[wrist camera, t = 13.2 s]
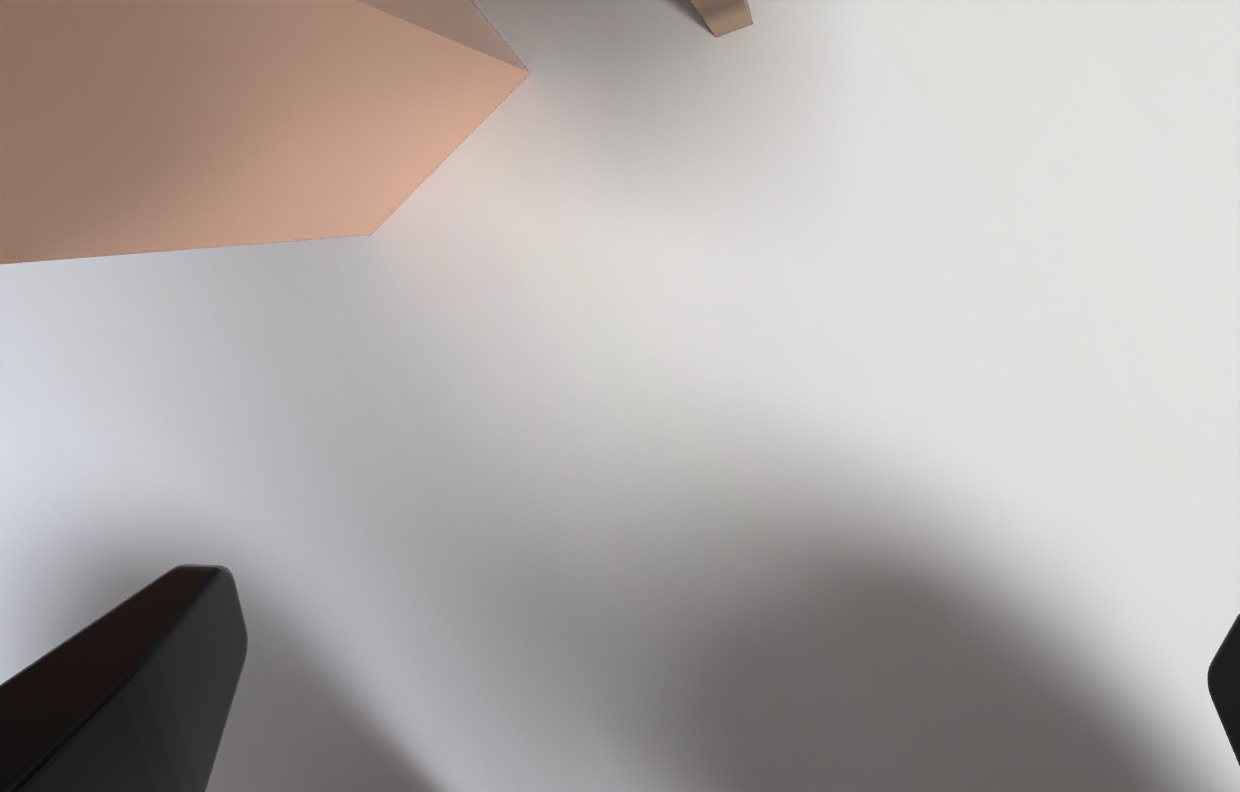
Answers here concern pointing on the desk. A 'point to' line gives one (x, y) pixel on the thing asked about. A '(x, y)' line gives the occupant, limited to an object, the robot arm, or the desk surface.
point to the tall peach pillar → (229, 118)
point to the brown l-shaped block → (723, 14)
